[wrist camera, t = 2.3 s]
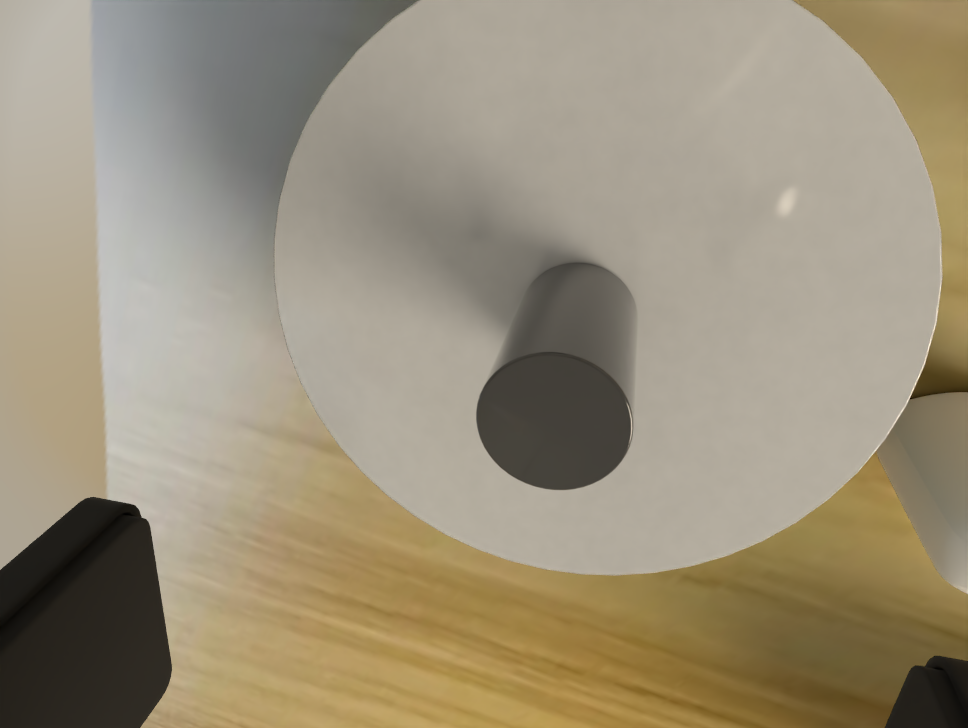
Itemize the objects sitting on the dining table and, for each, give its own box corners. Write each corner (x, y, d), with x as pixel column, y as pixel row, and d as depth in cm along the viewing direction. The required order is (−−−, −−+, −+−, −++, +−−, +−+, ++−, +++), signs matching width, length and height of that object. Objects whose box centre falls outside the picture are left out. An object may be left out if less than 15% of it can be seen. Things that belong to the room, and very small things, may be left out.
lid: (273, -73, 17) (84, -114, 12) (1042, -25, 15) (1293, -47, 9) (302, 501, 25) (195, 652, 19) (822, 597, 22) (883, 805, 16)
